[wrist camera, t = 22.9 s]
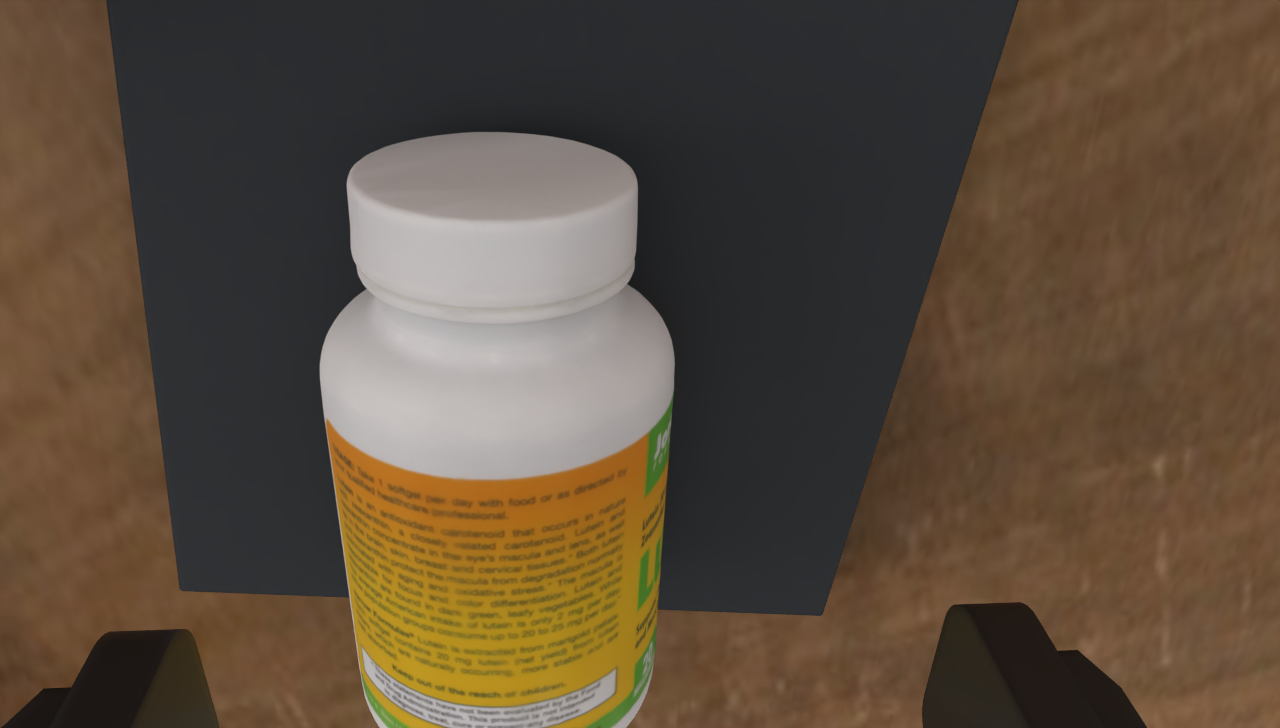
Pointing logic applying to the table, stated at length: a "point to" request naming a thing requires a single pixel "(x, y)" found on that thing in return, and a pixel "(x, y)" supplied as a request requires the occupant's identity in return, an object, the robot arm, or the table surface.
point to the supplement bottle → (499, 435)
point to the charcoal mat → (664, 260)
